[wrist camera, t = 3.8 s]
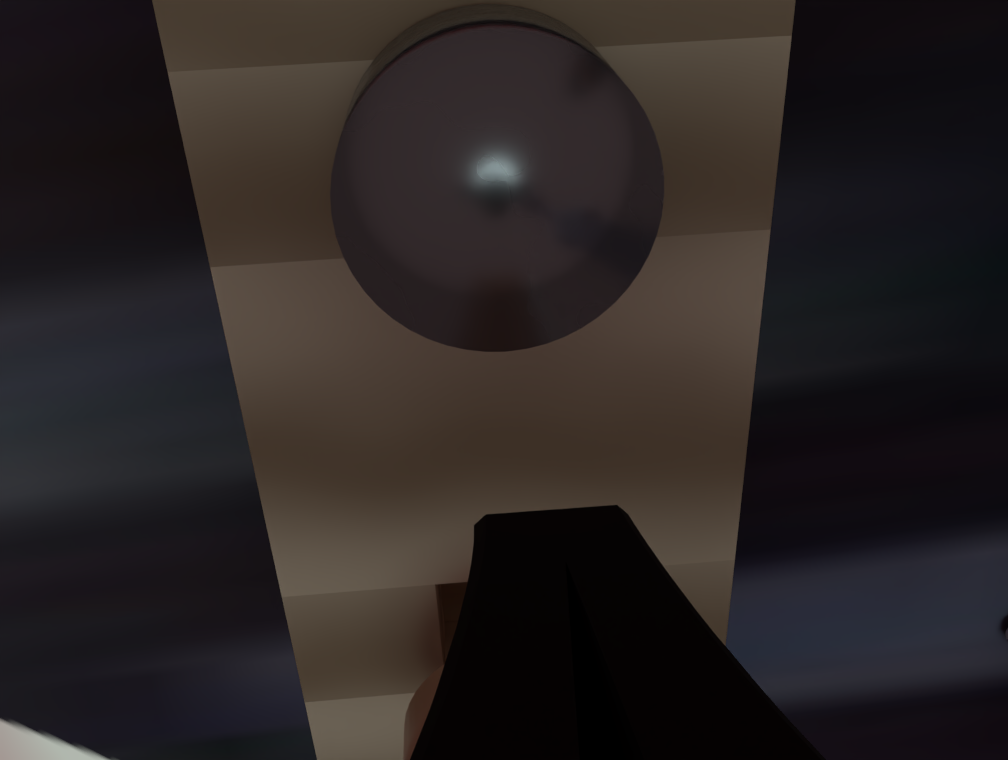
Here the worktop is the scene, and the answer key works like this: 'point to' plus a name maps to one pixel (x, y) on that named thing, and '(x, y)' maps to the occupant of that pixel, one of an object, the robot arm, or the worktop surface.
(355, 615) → the knob bar
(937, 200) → the worktop surface
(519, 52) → the knob
